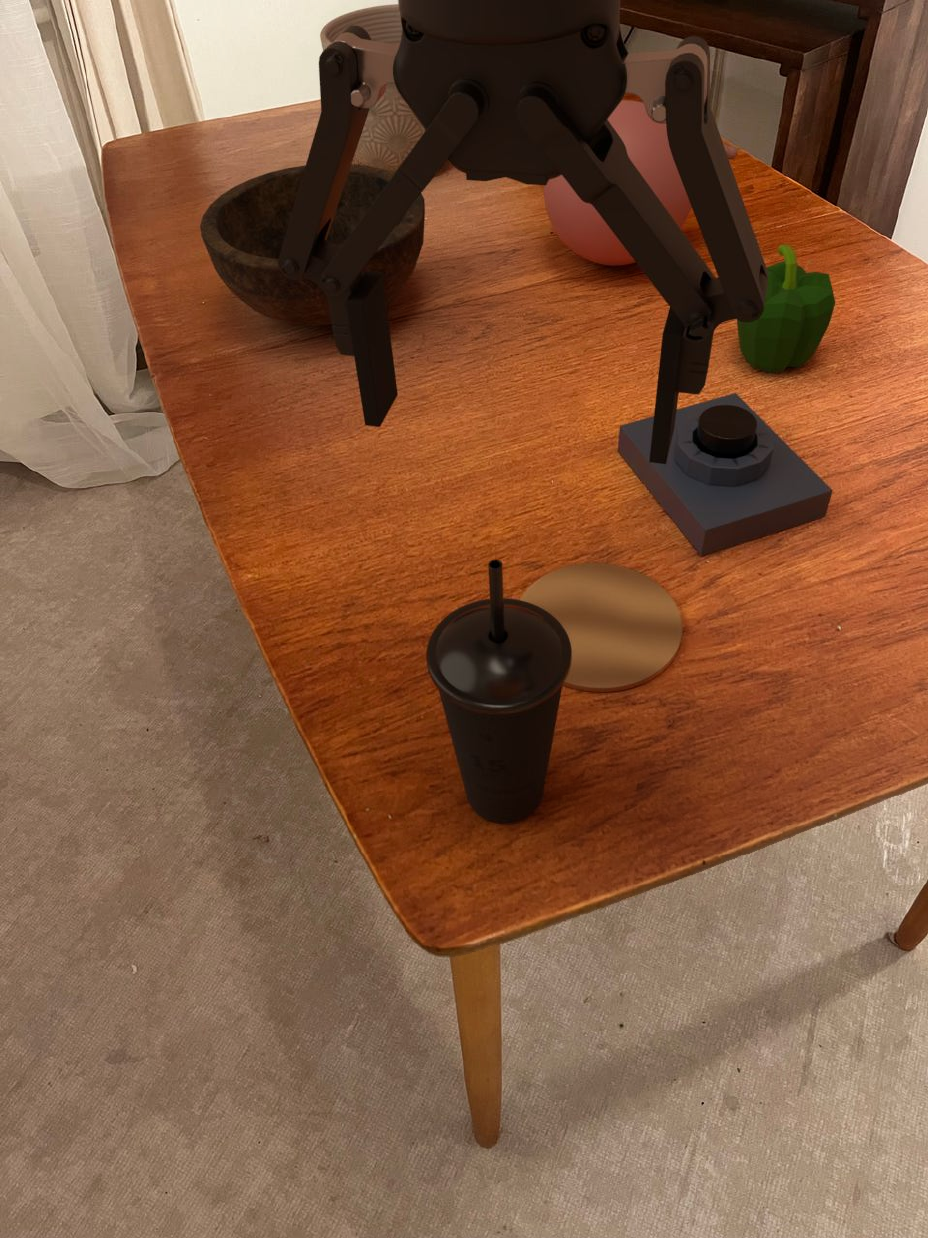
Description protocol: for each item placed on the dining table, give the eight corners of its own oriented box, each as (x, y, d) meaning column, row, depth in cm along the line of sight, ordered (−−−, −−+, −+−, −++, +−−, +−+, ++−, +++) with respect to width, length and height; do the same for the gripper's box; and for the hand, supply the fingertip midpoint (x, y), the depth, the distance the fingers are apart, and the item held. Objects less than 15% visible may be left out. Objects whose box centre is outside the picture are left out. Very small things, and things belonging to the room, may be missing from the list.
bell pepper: (820, 388, 88) (847, 285, 81) (726, 379, 90) (744, 278, 82) (820, 337, 93) (845, 236, 86) (731, 330, 95) (748, 230, 88)
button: (764, 451, 76) (768, 429, 75) (714, 466, 75) (717, 444, 74) (733, 420, 79) (737, 398, 77) (685, 434, 78) (688, 412, 77)
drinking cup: (446, 740, 64) (421, 511, 49) (563, 740, 64) (573, 509, 49) (440, 844, 59) (409, 624, 44) (567, 846, 59) (579, 623, 44)
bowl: (397, 237, 111) (387, 147, 104) (462, 333, 97) (456, 236, 90) (207, 279, 107) (183, 188, 100) (246, 385, 93) (222, 288, 85)
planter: (326, 146, 129) (306, 16, 118) (449, 124, 132) (441, -5, 121) (355, 199, 118) (337, 61, 107) (489, 174, 121) (484, 37, 110)
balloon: (749, 278, 101) (776, 123, 90) (558, 301, 100) (562, 146, 89) (704, 211, 112) (723, 64, 100) (531, 231, 110) (531, 84, 99)
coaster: (688, 694, 66) (689, 690, 65) (509, 690, 67) (509, 685, 66) (675, 568, 74) (676, 563, 73) (516, 565, 75) (516, 561, 74)
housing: (825, 516, 77) (838, 471, 73) (701, 556, 74) (708, 511, 71) (730, 418, 86) (738, 374, 82) (617, 451, 83) (620, 407, 80)
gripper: (928, -160, 30) (795, 411, 46) (201, -151, 36) (303, 355, 51) (936, -98, 25) (784, 516, 41) (96, -99, 31) (244, 441, 47)
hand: (517, 427), depth 46 cm, fingers open, 13 cm apart
